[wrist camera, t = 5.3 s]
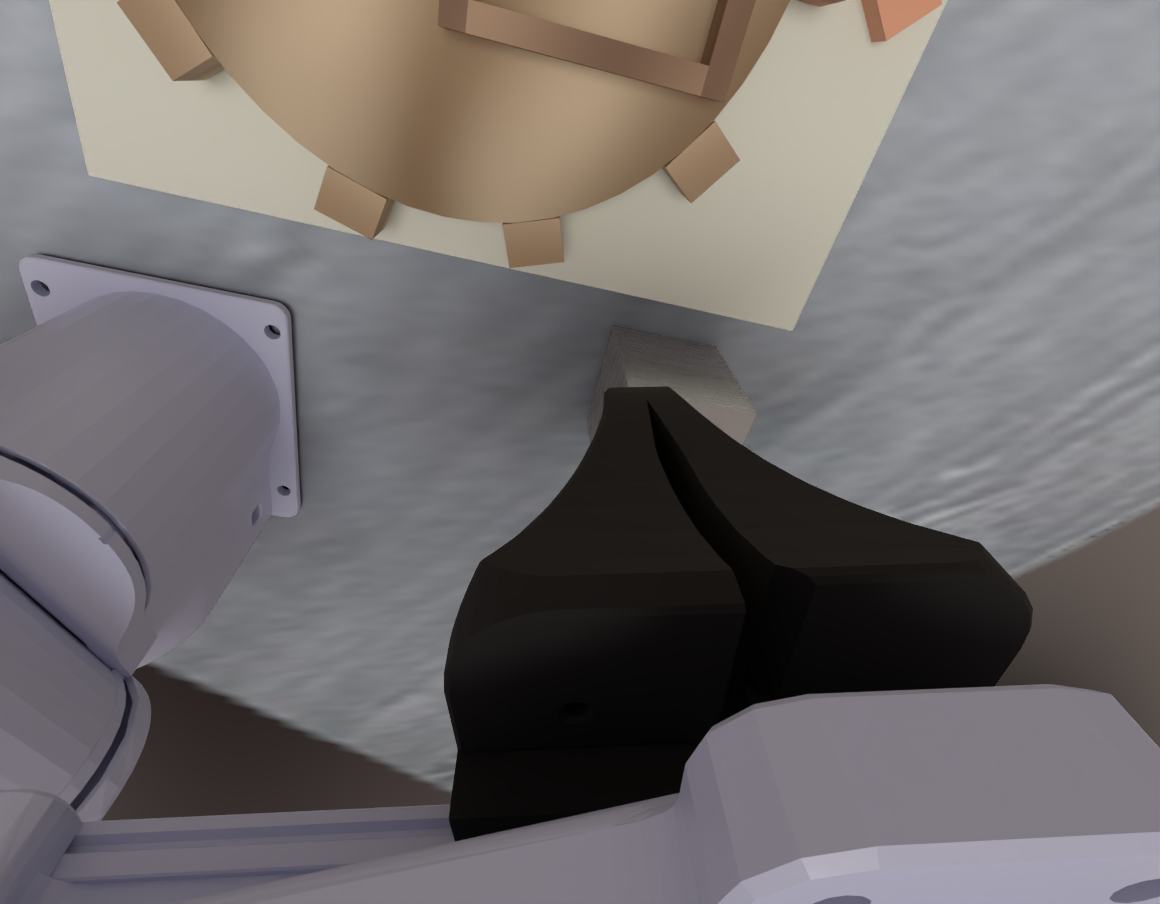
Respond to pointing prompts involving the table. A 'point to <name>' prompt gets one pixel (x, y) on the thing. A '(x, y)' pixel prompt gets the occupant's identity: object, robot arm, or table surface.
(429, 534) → the table surface
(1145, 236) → the table surface
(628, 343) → the copper-capped metal cube
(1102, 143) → the table surface
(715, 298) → the index plate
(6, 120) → the table surface
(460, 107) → the sprocket disc
